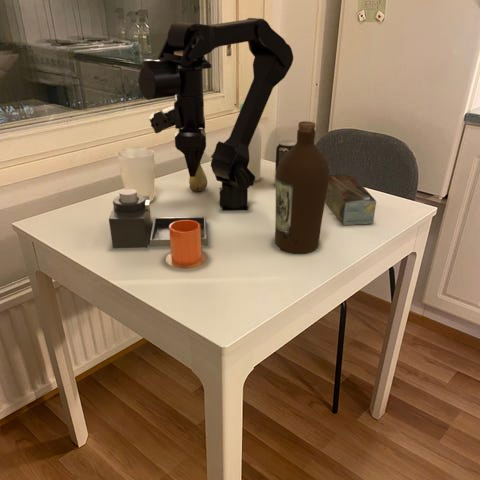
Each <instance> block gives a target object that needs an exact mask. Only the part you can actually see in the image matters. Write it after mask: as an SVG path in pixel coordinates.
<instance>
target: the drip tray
mask: <svg viewBox="0 0 480 480" xmlns="http://www.w3.org/2000/svg"><path fill="white" fill-rule="evenodd" d="M152 219H153V220H152V224H151V229H150V234H149V247H150V248H153V247H155V248H157V247H171V246H170V232H169V225H170V224H171V223H173V222H175V221H179V220H192V221H196V222H198V223H199V224H200V228H201V247H202V246H204V247H206V246H208V235H207V234H208V233H207V232H208V231H207V216H172V217H171V216H169V217H167V216H165V217H163V216H162V217H153V218H152Z"/></svg>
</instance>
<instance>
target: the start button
mask: <svg viewBox="0 0 480 480" xmlns="http://www.w3.org/2000/svg"><path fill="white" fill-rule="evenodd" d="M118 193H119V196H120V202H122V203H134V202H137V201H138V198H137V191H136V190H134V189H125V188H124V189H121V190H119V192H118Z"/></svg>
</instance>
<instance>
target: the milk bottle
mask: <svg viewBox="0 0 480 480" xmlns="http://www.w3.org/2000/svg"><path fill="white" fill-rule="evenodd" d="M242 106H243V103H241V104H239V112H240V111H241V108H242ZM248 148H249V159H250V160H249V164H248V167H247V168H248V169H249V170H250V171H251V173H252V174H253V175H254V176H255V180H254V182H257V181H259V180H260V178H261V170H262V169H261V165H262V134H261V130H260V127H259V124H258V125H257V128H256V130H255V132H254V135H253V137H252V139H251V142H250V144H249V147H248Z"/></svg>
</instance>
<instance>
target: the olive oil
mask: <svg viewBox="0 0 480 480" xmlns="http://www.w3.org/2000/svg"><path fill="white" fill-rule="evenodd" d="M315 129H316V123H315V122H313V121H309V120H308V121H307V120H303V121H299V122H298V129H297V131H296V144H295V145H294V146H293V147H292V148H291V149H290V150H289V151H288V152H287V153H286V154H285V155H284V156H283V157H282V159H281V160H280V162H279V164H278V167H277V170H276V185H275V219H274V221H275V223H274V224H275V225H274V227H275V229H274V244H275V246H276V247H277V248H279V250H281V251H283V252H286V253H290V254H300V255H301V254H308V253H312V252H314V251H315V250H317V249H318V248H319V243H320V238H321V237H320V236H321V231H322V223H323V217H324V210H325V205H326V201H325V200H326V194H327V188H328V183H329V175H330V166H329V164H328V161H327V159H326V158H325V156H324V155H323V154H322V153H321V151H320V150H319V149H318V148H317V146H316V143H315V137H316V130H315Z"/></svg>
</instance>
